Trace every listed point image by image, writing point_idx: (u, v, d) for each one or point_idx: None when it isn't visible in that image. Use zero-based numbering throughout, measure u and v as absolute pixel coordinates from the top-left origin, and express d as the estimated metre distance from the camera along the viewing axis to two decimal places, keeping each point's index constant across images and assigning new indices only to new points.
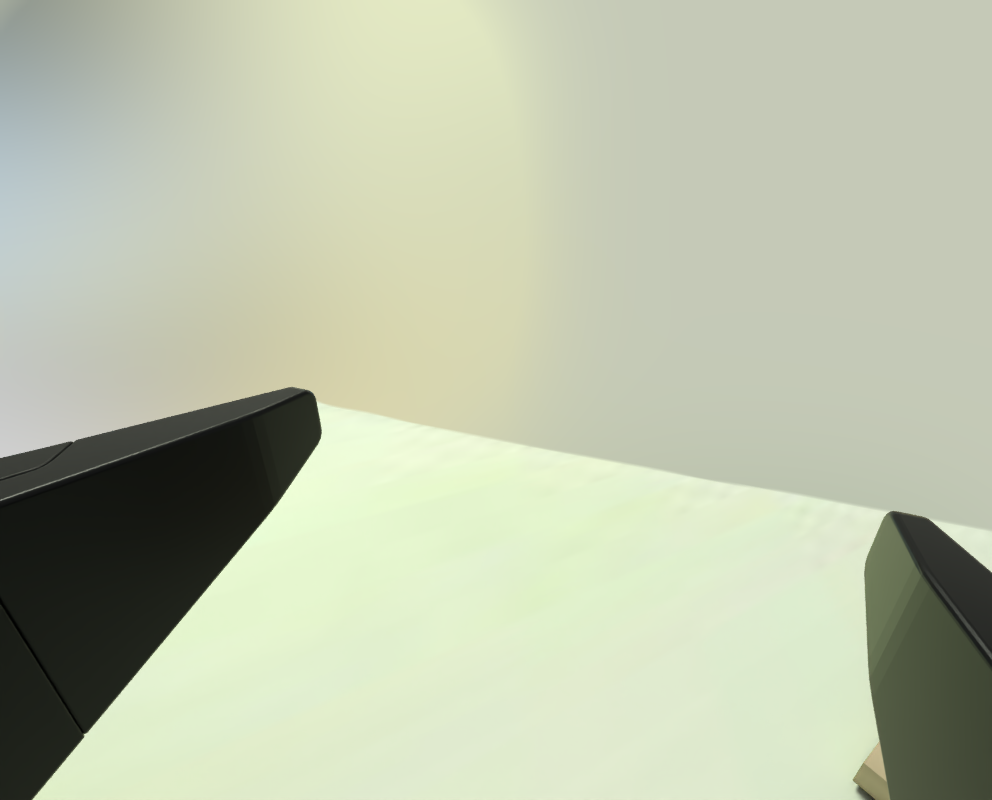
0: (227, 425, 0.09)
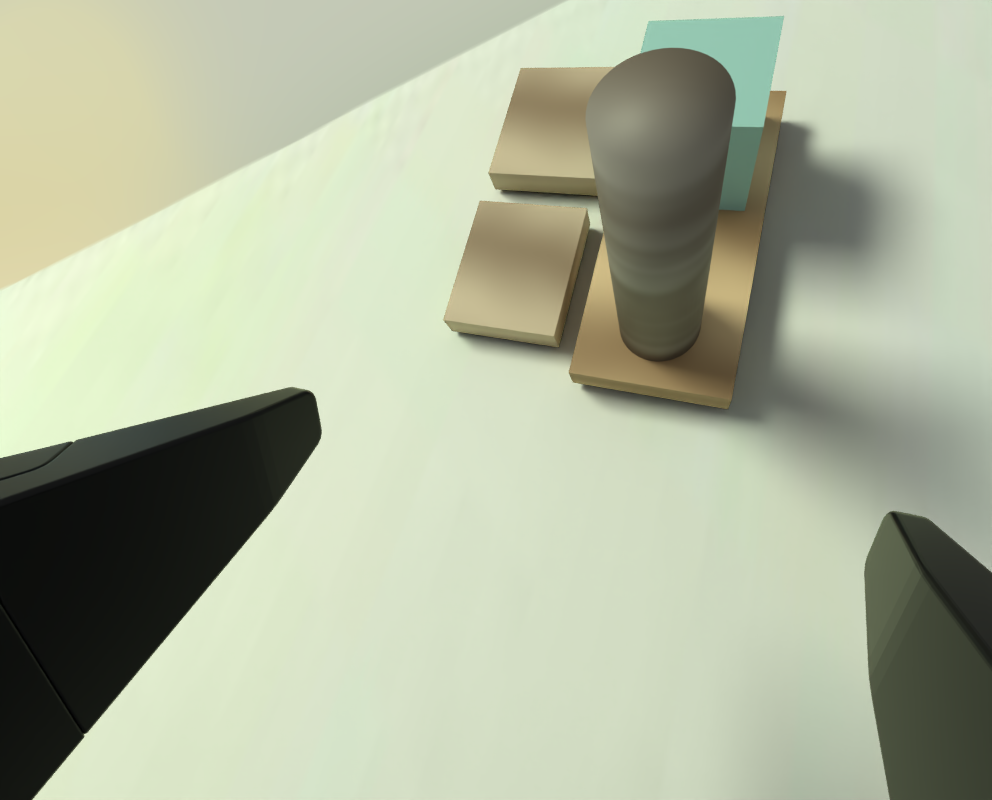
0: (227, 425, 0.09)
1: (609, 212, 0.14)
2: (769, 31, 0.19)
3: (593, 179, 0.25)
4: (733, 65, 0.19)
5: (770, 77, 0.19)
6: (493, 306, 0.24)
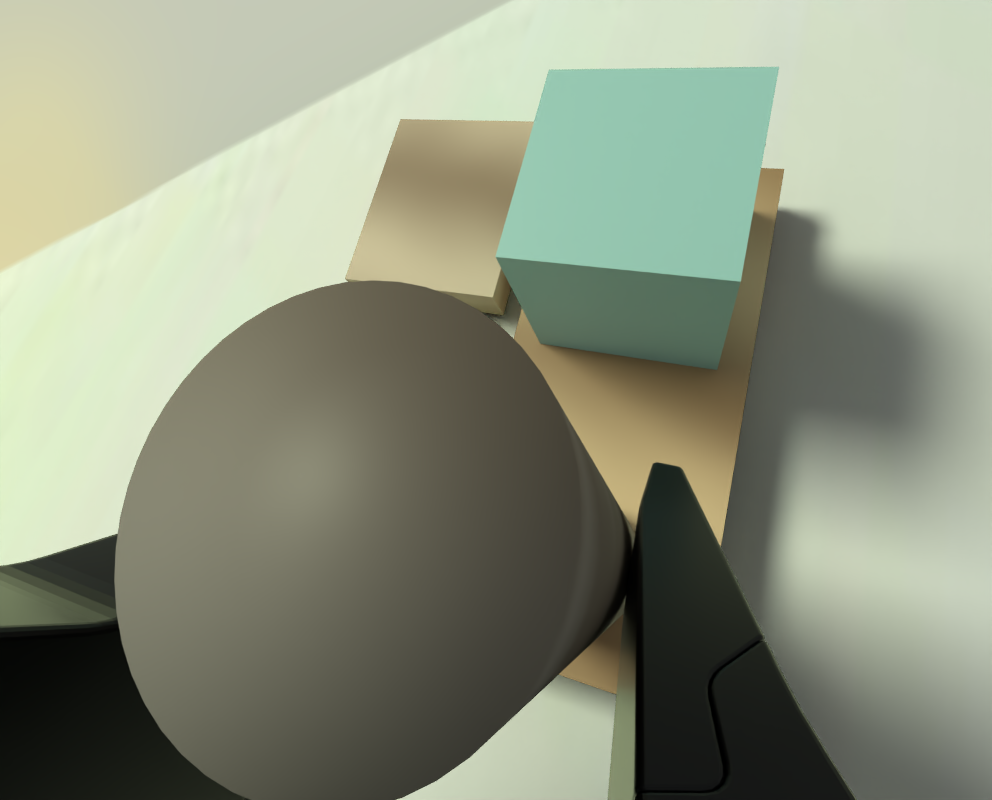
0: None
1: None
2: (752, 94, 0.11)
3: (491, 298, 0.16)
4: (688, 156, 0.11)
5: (754, 182, 0.10)
6: None
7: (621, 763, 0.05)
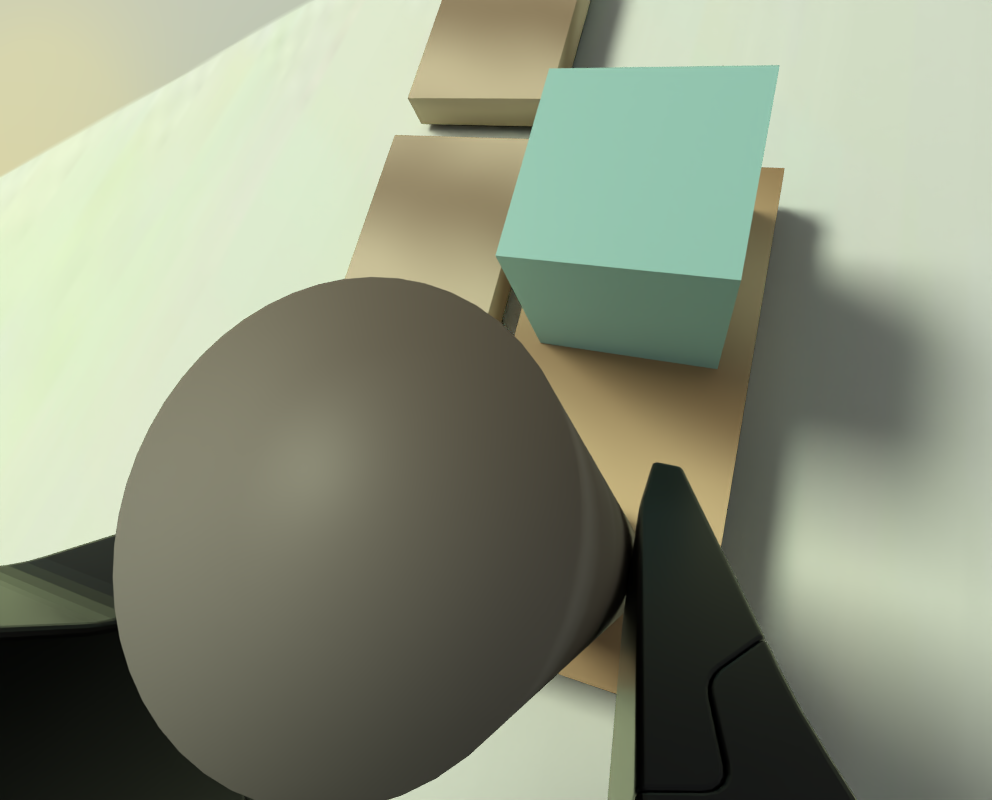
0: None
1: None
2: (753, 92, 0.11)
3: None
4: (689, 154, 0.11)
5: (755, 181, 0.10)
6: (406, 277, 0.17)
7: (621, 763, 0.05)
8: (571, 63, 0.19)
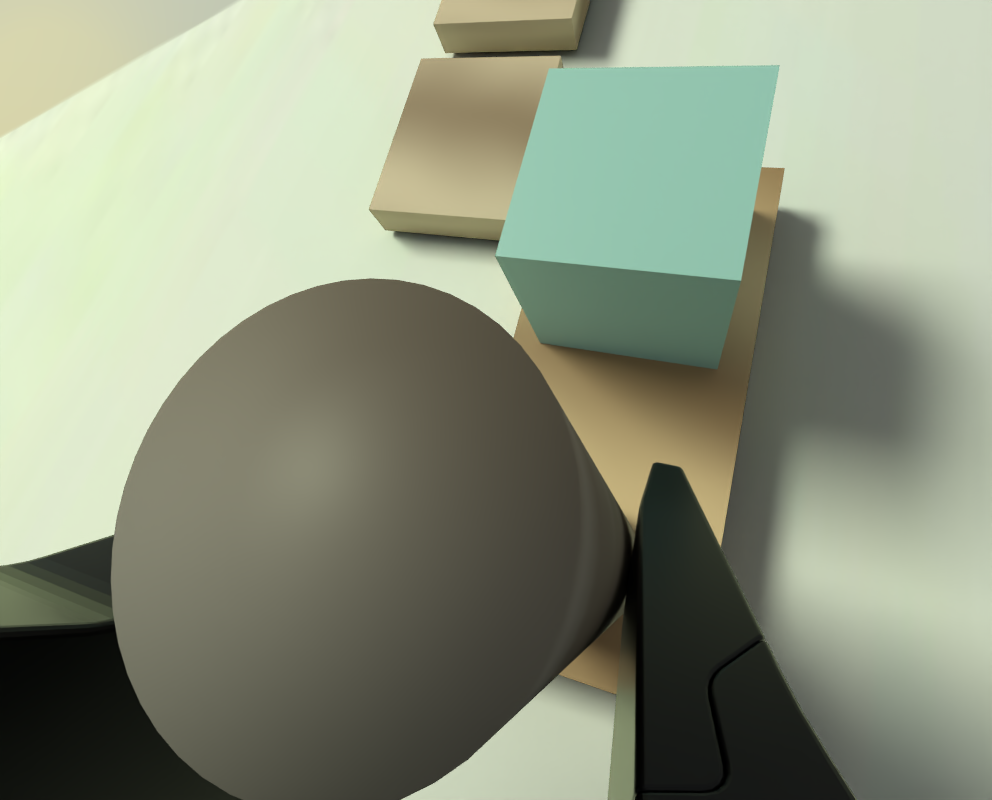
0: None
1: None
2: (752, 92, 0.11)
3: (569, 20, 0.19)
4: (689, 154, 0.11)
5: (755, 180, 0.10)
6: (435, 188, 0.18)
7: (621, 763, 0.05)
8: None
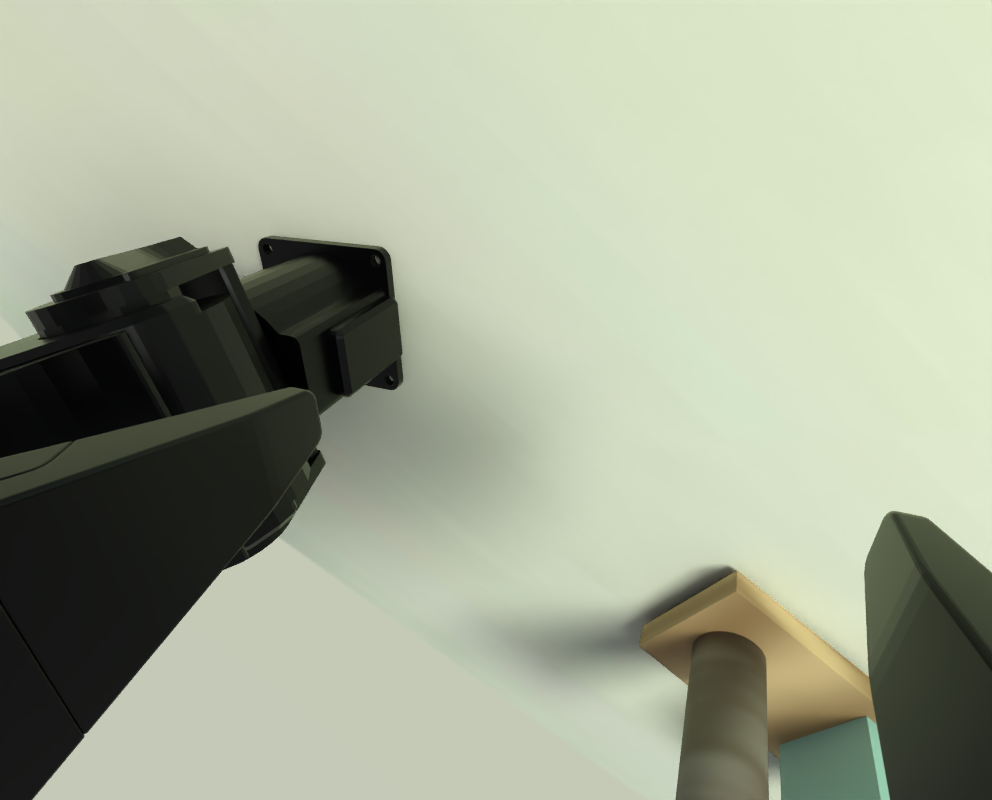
0: (227, 425, 0.09)
1: None
2: None
3: None
4: None
5: None
6: None
7: None
8: None
